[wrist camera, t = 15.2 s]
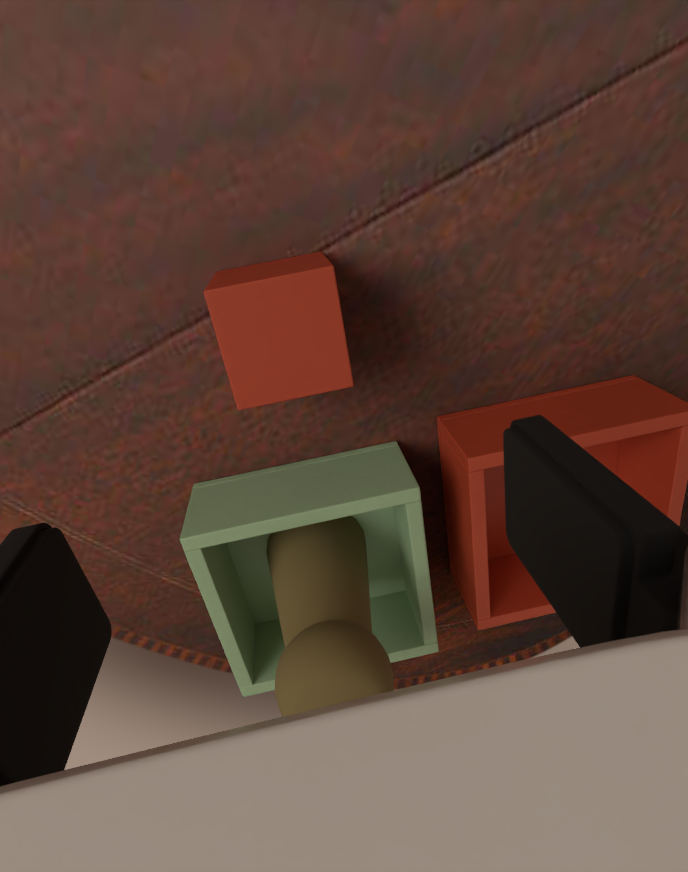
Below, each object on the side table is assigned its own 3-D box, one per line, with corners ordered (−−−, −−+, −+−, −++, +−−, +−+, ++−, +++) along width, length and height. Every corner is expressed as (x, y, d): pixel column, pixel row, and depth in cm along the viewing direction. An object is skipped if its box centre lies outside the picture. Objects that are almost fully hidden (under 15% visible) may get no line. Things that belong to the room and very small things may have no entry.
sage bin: (193, 483, 28) (178, 539, 23) (396, 440, 28) (420, 487, 24) (246, 629, 33) (242, 697, 29) (416, 590, 34) (438, 652, 29)
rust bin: (436, 416, 28) (467, 458, 23) (633, 374, 28) (701, 408, 24) (450, 571, 33) (477, 630, 29) (616, 534, 34) (669, 586, 29)
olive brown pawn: (379, 515, 30) (433, 674, 20) (348, 591, 32) (383, 767, 22) (280, 496, 28) (286, 658, 18) (255, 578, 31) (249, 760, 21)
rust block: (215, 271, 23) (203, 290, 19) (321, 250, 23) (333, 265, 19) (243, 372, 25) (237, 411, 21) (339, 353, 26) (354, 386, 21)
